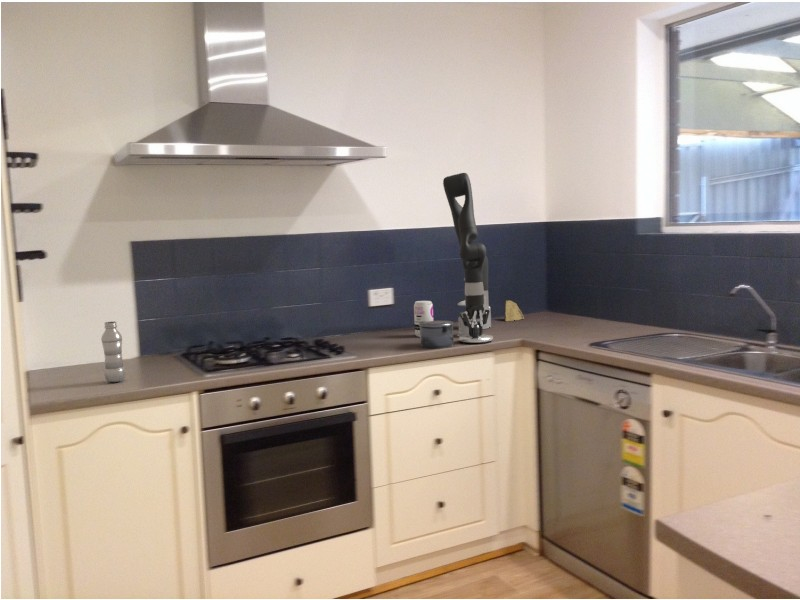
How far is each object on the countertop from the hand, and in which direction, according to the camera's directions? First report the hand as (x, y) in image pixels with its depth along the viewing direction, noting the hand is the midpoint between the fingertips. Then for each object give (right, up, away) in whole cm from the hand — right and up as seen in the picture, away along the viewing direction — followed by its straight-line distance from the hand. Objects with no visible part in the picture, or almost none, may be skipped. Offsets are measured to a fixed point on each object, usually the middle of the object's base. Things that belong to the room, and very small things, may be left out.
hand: (475, 335), depth 272 cm
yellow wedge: (+25, +4, +57) cm, 63 cm away
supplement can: (-20, -1, +21) cm, 29 cm away
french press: (-1, -1, +17) cm, 17 cm away
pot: (-16, -4, -5) cm, 17 cm away
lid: (0, -2, 0) cm, 2 cm away
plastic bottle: (-125, -13, -48) cm, 135 cm away
